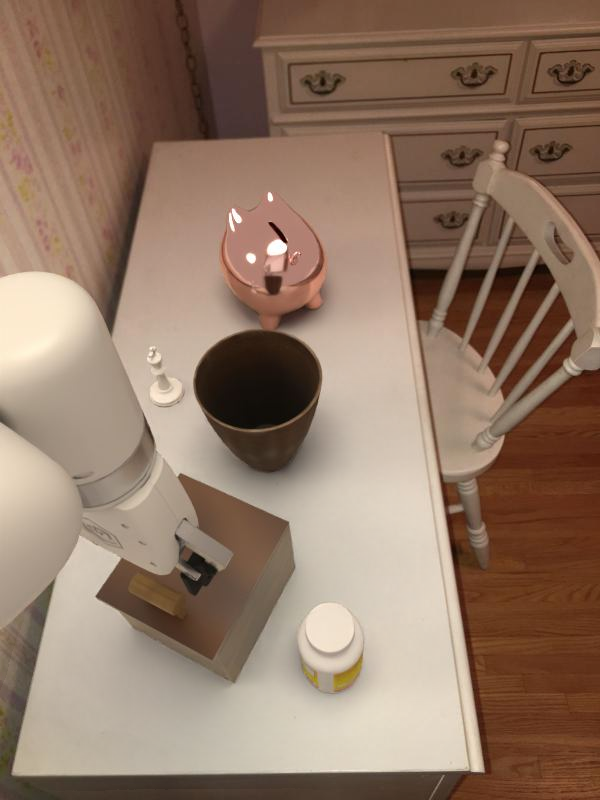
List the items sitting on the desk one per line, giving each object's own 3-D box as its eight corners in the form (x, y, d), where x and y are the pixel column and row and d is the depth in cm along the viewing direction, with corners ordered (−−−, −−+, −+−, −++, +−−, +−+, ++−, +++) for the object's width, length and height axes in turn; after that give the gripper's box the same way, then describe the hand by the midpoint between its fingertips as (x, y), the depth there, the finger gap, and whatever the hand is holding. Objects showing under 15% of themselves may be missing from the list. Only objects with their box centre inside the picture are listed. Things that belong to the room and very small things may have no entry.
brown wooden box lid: (213, 662, 60) (204, 647, 56) (97, 599, 64) (79, 580, 60) (289, 524, 68) (286, 502, 63) (181, 475, 72) (171, 451, 67)
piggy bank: (286, 246, 111) (279, 164, 98) (346, 308, 102) (347, 227, 89) (207, 282, 106) (189, 202, 94) (262, 350, 97) (251, 272, 84)
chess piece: (145, 403, 92) (126, 359, 84) (157, 377, 95) (140, 331, 87) (177, 409, 92) (161, 365, 84) (188, 382, 94) (174, 337, 86)
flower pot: (338, 419, 89) (339, 344, 76) (302, 512, 81) (296, 446, 68) (239, 393, 93) (224, 316, 80) (195, 479, 85) (170, 410, 72)
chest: (234, 683, 70) (218, 655, 60) (132, 627, 74) (102, 592, 64) (295, 567, 77) (289, 525, 68) (199, 521, 81) (181, 476, 72)
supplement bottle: (367, 639, 72) (372, 601, 62) (354, 701, 68) (357, 672, 58) (309, 624, 73) (305, 584, 63) (293, 684, 70) (286, 652, 59)
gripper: (-52, 443, 41) (46, 549, 55) (173, 556, 36) (218, 641, 50) (26, 360, 45) (99, 479, 59) (240, 452, 40) (265, 558, 54)
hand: (154, 553), depth 54 cm, fingers open, 9 cm apart
